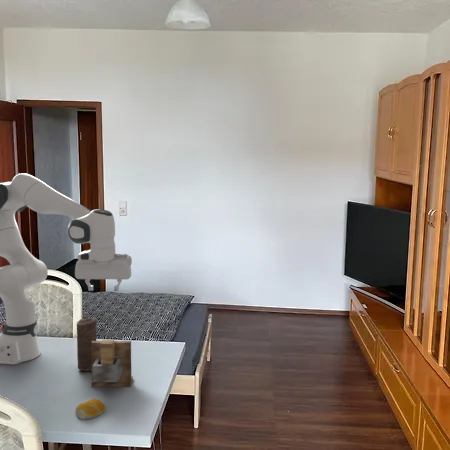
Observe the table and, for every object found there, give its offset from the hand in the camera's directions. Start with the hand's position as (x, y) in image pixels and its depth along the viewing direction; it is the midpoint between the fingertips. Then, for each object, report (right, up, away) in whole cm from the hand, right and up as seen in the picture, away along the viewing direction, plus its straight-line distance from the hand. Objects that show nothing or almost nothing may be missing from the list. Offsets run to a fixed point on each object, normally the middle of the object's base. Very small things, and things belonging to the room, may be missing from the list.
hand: (103, 290), depth 180 cm
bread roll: (+1, -37, -22) cm, 43 cm away
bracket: (+4, -34, -6) cm, 35 cm away
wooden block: (+4, -28, -10) cm, 30 cm away
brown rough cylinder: (-9, -32, +9) cm, 35 cm away
